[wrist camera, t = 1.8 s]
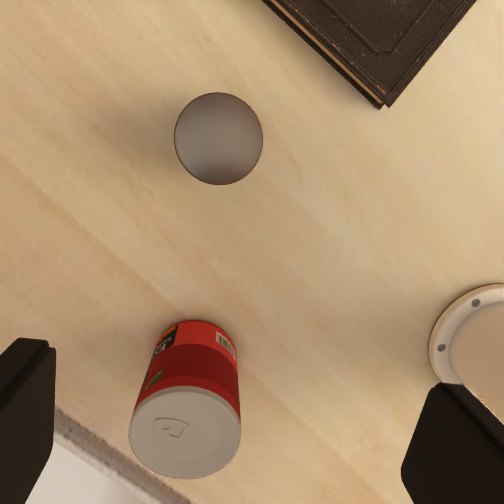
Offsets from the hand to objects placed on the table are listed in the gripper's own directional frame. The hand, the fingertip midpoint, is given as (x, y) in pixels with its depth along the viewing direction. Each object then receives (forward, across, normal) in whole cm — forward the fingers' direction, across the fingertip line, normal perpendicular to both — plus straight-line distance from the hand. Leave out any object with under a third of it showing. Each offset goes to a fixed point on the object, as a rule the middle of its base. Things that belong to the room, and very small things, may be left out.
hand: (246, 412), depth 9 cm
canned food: (+25, +1, +14) cm, 28 cm away
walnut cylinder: (+25, +2, -6) cm, 26 cm away
